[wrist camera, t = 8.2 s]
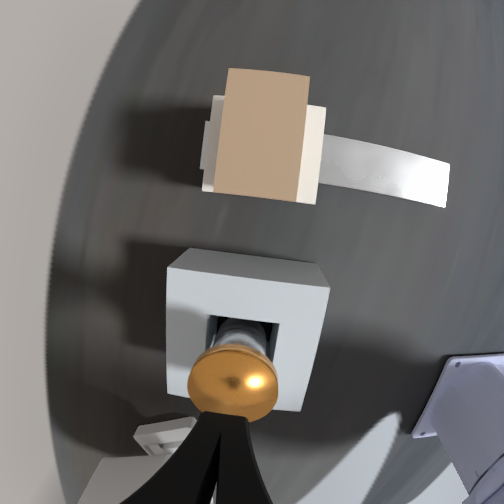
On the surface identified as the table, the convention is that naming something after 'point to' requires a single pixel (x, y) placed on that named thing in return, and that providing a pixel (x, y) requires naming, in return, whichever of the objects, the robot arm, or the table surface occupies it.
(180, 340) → the grey square-hole block
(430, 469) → the table surface
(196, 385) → the gold round knob
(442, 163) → the rail
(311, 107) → the carriage
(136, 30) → the table surface
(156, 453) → the security camera
